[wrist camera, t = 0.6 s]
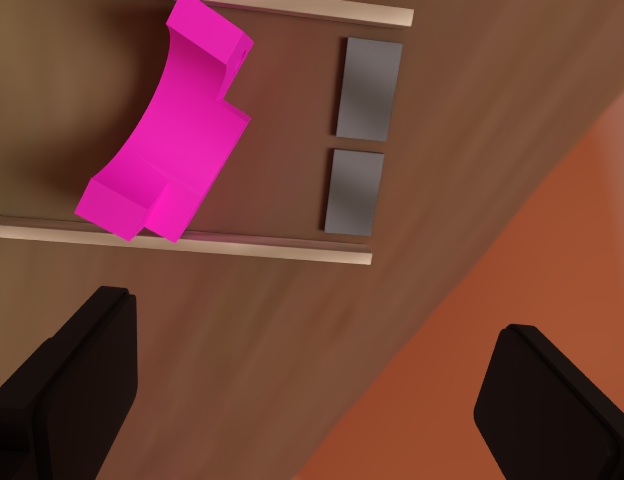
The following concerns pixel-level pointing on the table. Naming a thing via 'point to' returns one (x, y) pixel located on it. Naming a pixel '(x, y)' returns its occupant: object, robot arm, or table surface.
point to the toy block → (175, 132)
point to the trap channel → (346, 163)
